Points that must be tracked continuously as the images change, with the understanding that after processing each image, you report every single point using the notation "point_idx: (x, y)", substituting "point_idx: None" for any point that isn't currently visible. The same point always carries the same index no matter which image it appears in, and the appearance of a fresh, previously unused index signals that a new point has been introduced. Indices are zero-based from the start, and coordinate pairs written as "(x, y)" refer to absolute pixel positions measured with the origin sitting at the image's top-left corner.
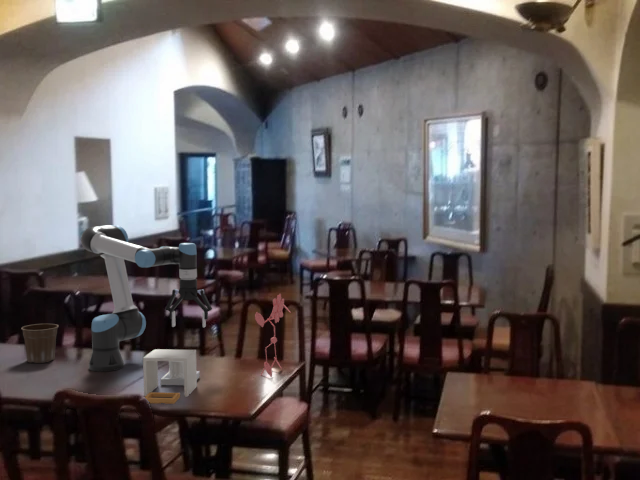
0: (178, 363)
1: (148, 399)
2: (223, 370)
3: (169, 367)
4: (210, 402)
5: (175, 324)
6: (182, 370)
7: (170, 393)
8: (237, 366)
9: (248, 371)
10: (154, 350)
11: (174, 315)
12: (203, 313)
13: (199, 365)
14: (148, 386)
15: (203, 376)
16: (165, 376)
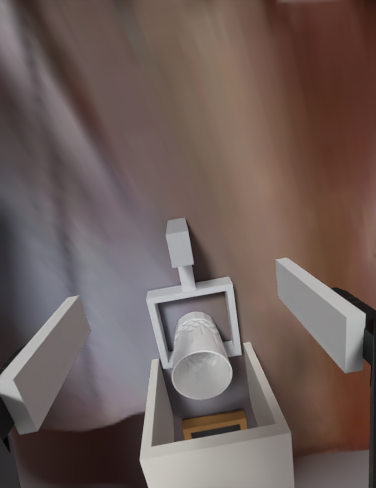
0: (214, 391)
1: None
2: (270, 192)
3: (181, 375)
4: (311, 417)
5: (76, 300)
6: (218, 366)
7: (228, 425)
8: (301, 133)
9: (347, 185)
10: (149, 471)
11: (47, 370)
12: (349, 363)
13: (173, 150)
14: (171, 427)
15: (234, 264)
16: (164, 349)
